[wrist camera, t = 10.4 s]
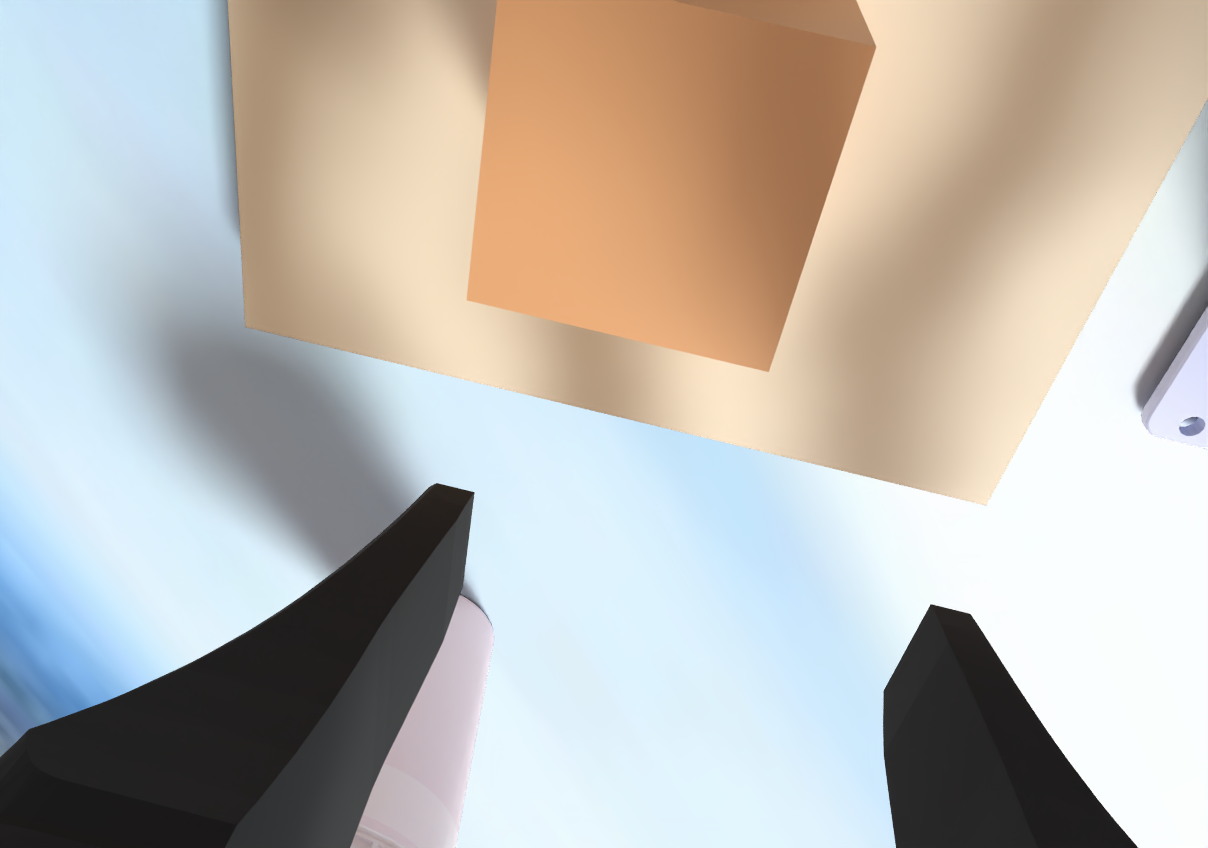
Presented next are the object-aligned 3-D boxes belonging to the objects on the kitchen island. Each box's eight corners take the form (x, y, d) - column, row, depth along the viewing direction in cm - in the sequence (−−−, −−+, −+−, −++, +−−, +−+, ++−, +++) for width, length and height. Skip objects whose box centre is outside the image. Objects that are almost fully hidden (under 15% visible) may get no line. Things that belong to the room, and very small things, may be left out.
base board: (1315, -215, 15) (1381, -220, 13) (971, 456, 23) (986, 505, 21) (263, -437, 16) (202, -469, 14) (282, 291, 23) (245, 327, 22)
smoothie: (304, 599, 30) (3, 1089, 18) (444, 523, 27) (192, 1046, 15) (434, 717, 32) (240, 1219, 20) (575, 659, 29) (442, 1202, 18)
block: (851, -11, 16) (876, 46, 12) (771, 251, 19) (769, 372, 15) (572, -74, 16) (500, -38, 12) (534, 196, 19) (466, 300, 15)
